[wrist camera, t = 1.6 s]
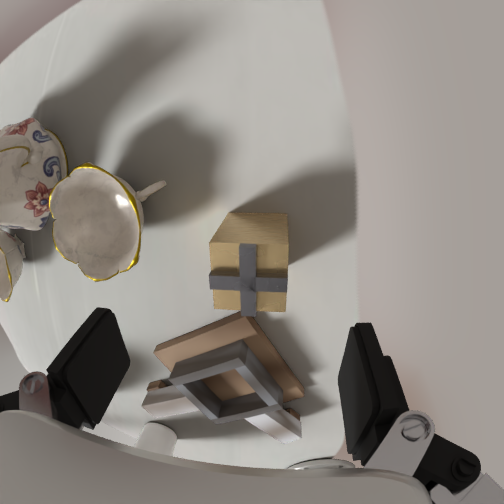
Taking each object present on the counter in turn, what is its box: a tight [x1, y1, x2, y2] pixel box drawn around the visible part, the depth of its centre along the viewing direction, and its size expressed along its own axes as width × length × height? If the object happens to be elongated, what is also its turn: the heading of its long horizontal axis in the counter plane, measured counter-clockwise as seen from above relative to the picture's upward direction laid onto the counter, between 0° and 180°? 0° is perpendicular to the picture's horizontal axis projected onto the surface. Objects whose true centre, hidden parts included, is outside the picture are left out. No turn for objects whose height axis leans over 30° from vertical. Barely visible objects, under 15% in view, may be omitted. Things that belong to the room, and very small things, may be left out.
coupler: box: [209, 213, 289, 317], centre depth 20 cm, size 4×4×7 cm
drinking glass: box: [134, 423, 177, 457], centre depth 29 cm, size 7×7×15 cm
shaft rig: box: [142, 311, 304, 444], centre depth 28 cm, size 17×16×4 cm
